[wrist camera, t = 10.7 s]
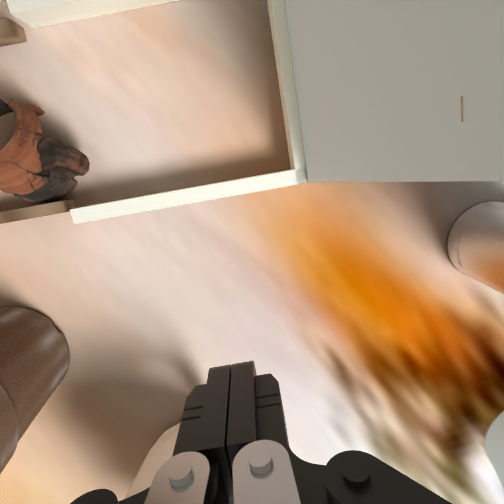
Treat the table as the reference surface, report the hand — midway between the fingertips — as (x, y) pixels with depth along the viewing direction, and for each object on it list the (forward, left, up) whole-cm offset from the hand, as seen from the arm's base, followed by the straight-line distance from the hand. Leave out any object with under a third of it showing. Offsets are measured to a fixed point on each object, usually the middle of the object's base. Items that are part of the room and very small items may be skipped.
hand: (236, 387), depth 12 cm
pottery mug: (+19, -12, -29) cm, 37 cm away
